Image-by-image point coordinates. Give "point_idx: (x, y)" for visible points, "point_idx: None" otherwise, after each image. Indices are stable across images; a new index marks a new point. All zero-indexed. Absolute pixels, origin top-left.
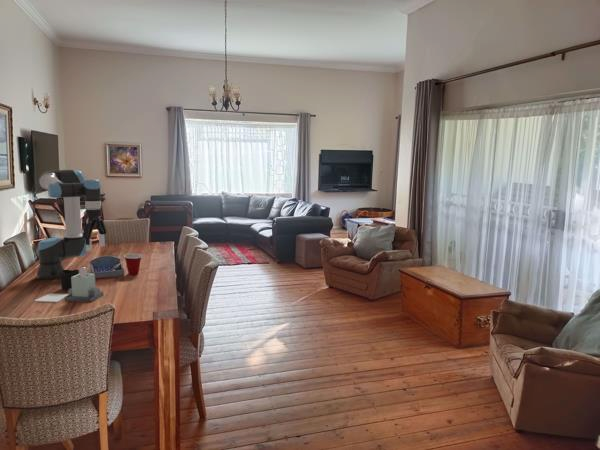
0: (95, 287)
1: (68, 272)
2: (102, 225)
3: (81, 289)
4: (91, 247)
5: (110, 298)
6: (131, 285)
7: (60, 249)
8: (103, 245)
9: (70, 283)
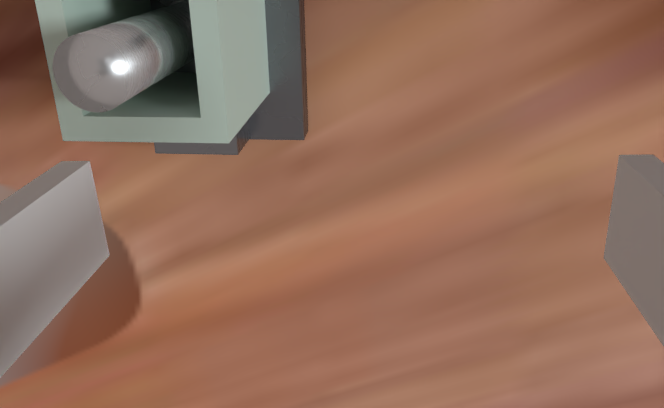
0: (260, 102)
1: None
2: None
3: None
4: (70, 289)
5: (236, 220)
6: (590, 226)
7: None
8: (611, 251)
9: None
